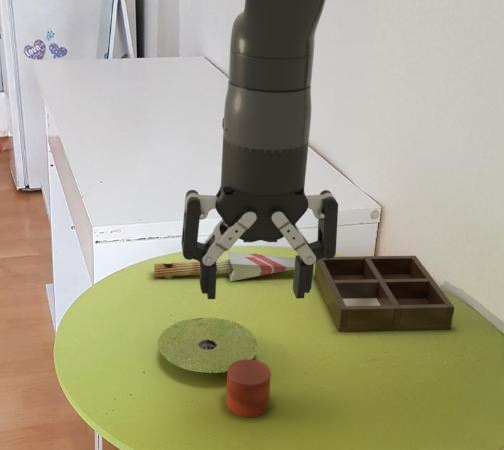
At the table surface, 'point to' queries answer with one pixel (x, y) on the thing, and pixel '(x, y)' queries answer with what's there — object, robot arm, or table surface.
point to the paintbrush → (231, 266)
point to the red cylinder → (248, 388)
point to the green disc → (207, 344)
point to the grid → (382, 294)
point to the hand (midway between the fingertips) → (254, 295)
